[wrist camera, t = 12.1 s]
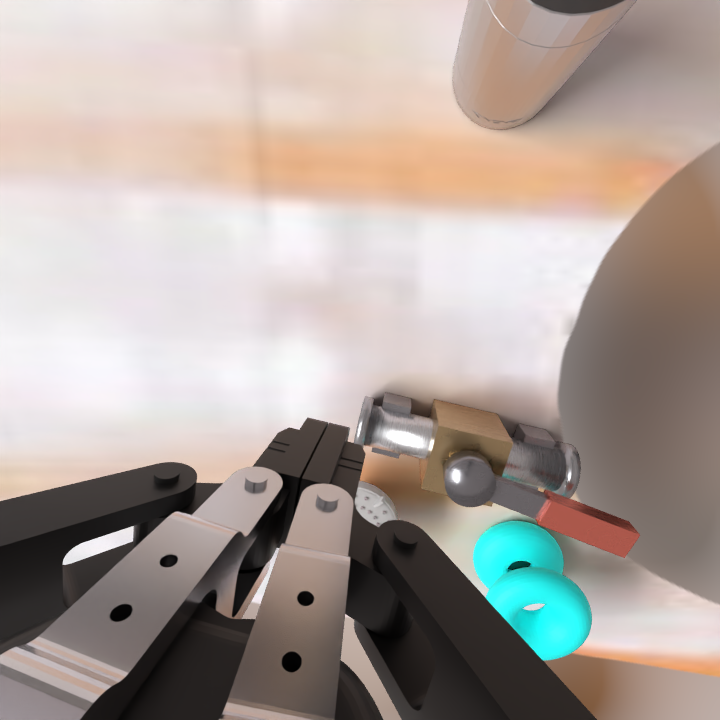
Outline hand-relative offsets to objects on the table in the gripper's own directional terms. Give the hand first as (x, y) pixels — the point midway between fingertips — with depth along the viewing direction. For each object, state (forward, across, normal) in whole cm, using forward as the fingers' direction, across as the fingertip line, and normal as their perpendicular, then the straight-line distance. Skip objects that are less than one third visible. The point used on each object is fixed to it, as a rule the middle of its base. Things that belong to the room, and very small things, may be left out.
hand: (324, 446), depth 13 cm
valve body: (+29, -11, +11) cm, 33 cm away
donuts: (+29, -22, +24) cm, 44 cm away
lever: (+21, -17, +12) cm, 30 cm away
